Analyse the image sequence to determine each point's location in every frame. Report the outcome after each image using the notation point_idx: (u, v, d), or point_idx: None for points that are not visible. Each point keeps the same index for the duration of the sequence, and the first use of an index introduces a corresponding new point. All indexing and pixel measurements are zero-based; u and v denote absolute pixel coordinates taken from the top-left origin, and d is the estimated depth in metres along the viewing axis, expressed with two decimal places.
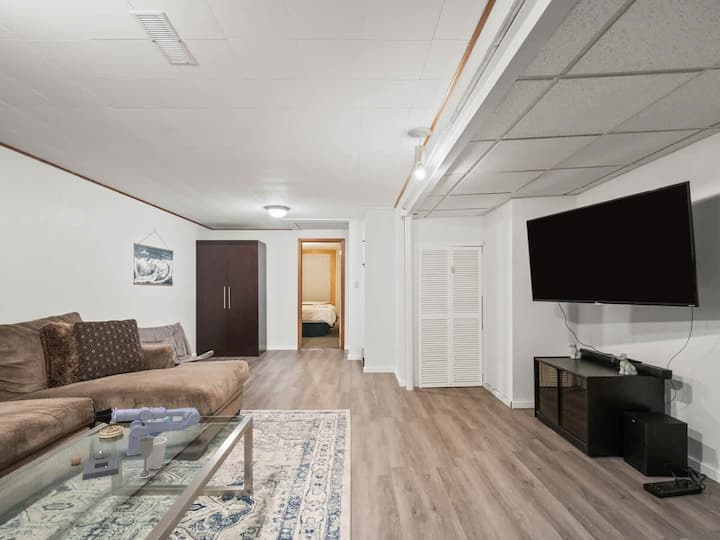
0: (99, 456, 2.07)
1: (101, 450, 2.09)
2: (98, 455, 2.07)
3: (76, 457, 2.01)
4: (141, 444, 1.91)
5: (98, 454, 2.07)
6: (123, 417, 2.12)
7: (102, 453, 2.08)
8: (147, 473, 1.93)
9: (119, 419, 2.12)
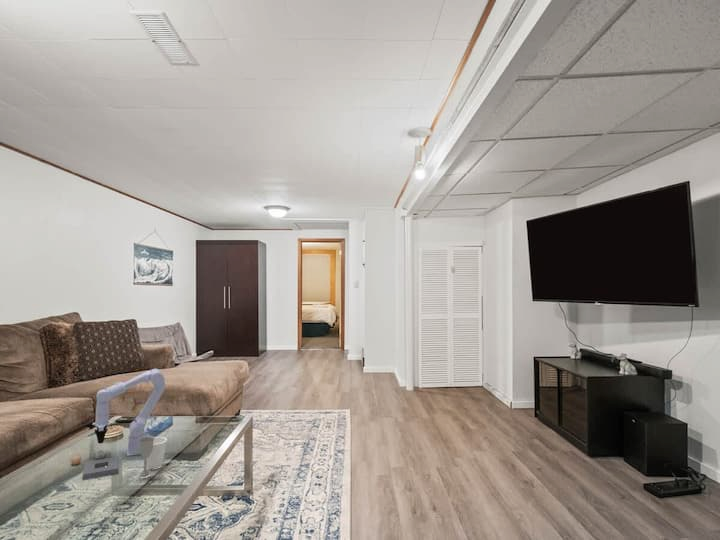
0: (99, 456, 2.07)
1: (101, 450, 2.09)
2: (98, 455, 2.07)
3: (76, 457, 2.01)
4: (141, 444, 1.91)
5: (98, 454, 2.07)
6: (102, 417, 2.07)
7: (102, 453, 2.08)
8: (147, 473, 1.93)
9: (105, 419, 2.08)
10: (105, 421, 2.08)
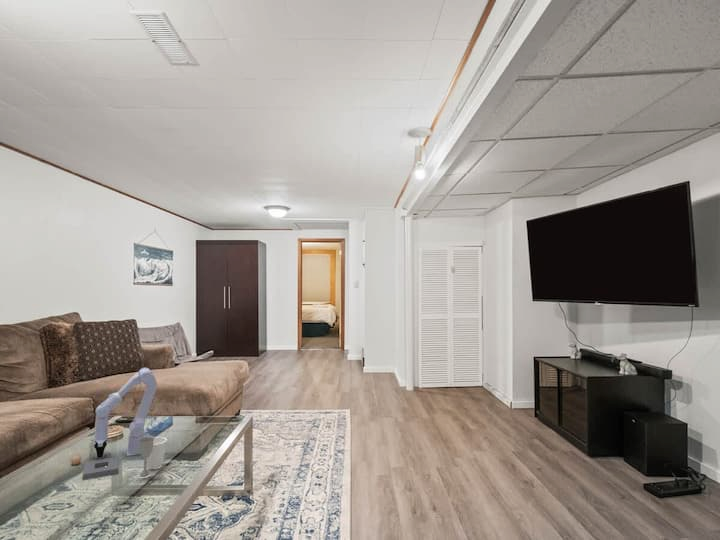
0: None
1: None
2: None
3: (76, 457, 2.01)
4: (141, 444, 1.91)
5: None
6: (102, 432, 2.07)
7: None
8: (147, 473, 1.93)
9: (104, 435, 2.08)
10: (104, 436, 2.08)
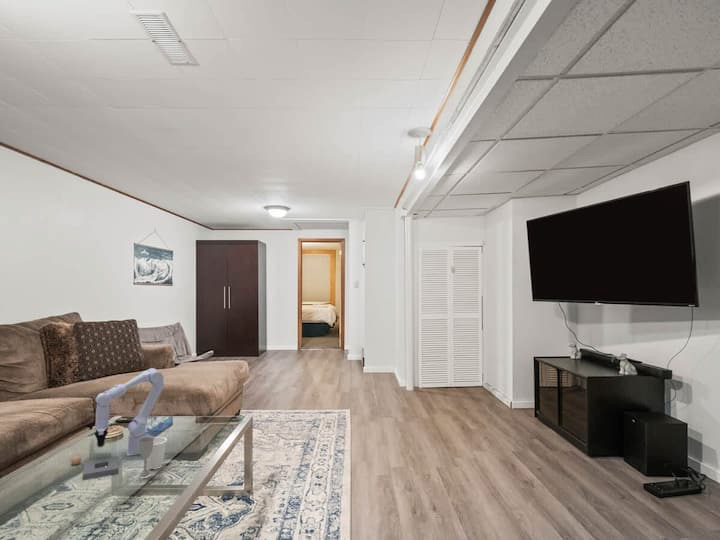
0: None
1: None
2: None
3: (76, 457, 2.01)
4: (141, 444, 1.91)
5: None
6: (102, 420, 2.04)
7: None
8: (147, 473, 1.93)
9: (105, 423, 2.05)
10: (105, 425, 2.06)
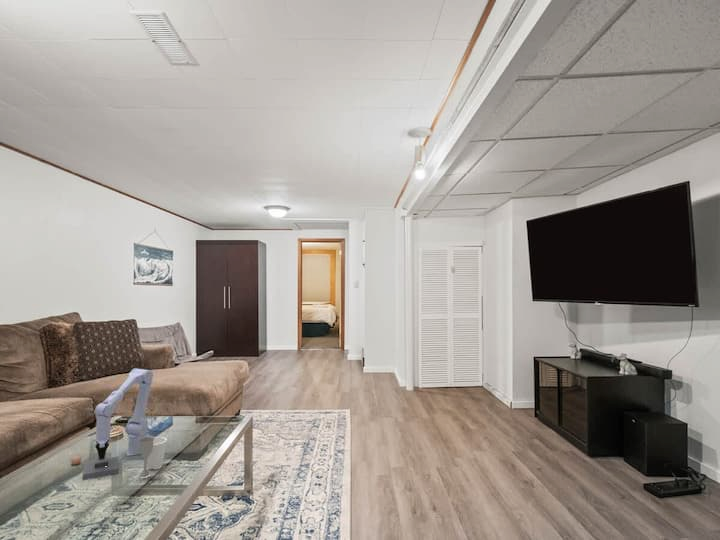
0: None
1: None
2: None
3: (76, 457, 2.01)
4: (141, 444, 1.91)
5: None
6: (103, 432, 1.95)
7: None
8: (147, 473, 1.93)
9: (106, 435, 1.96)
10: (106, 436, 1.96)
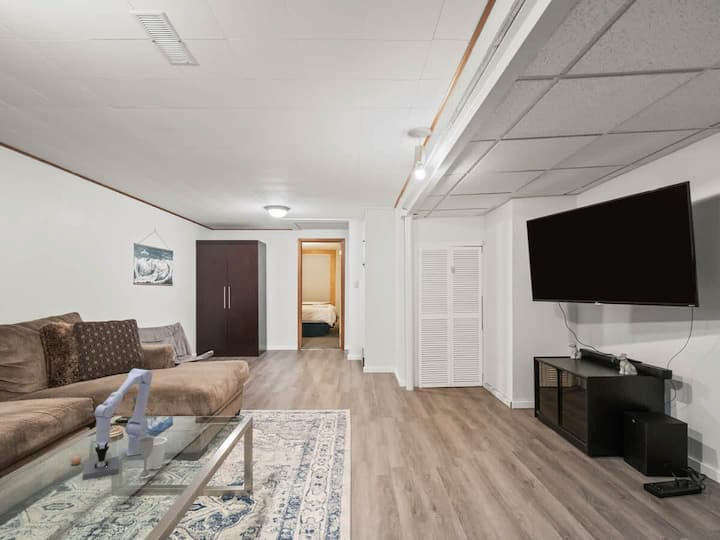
0: None
1: None
2: (99, 467, 1.95)
3: (76, 457, 2.01)
4: (141, 444, 1.91)
5: (99, 466, 1.95)
6: (103, 433, 1.95)
7: (103, 465, 1.96)
8: (147, 473, 1.93)
9: (106, 436, 1.96)
10: (106, 438, 1.96)
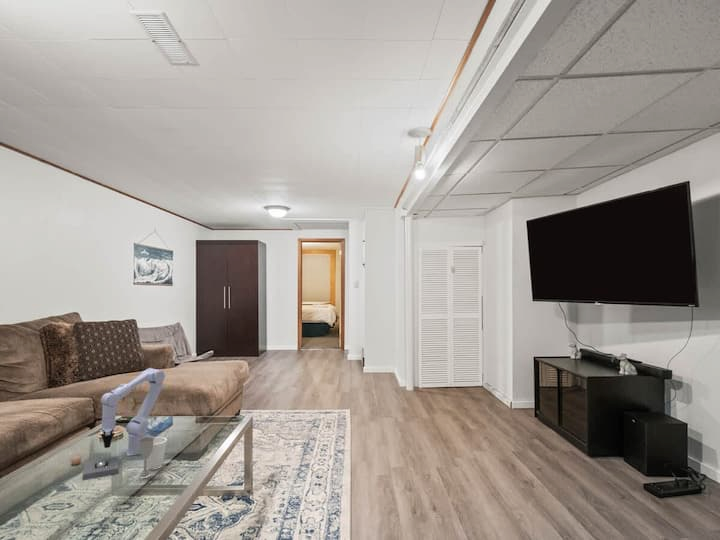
0: None
1: None
2: (99, 467, 1.95)
3: (76, 457, 2.01)
4: (141, 444, 1.91)
5: (99, 466, 1.95)
6: (109, 420, 2.02)
7: (103, 464, 1.96)
8: (147, 473, 1.93)
9: (111, 423, 2.03)
10: (112, 425, 2.03)
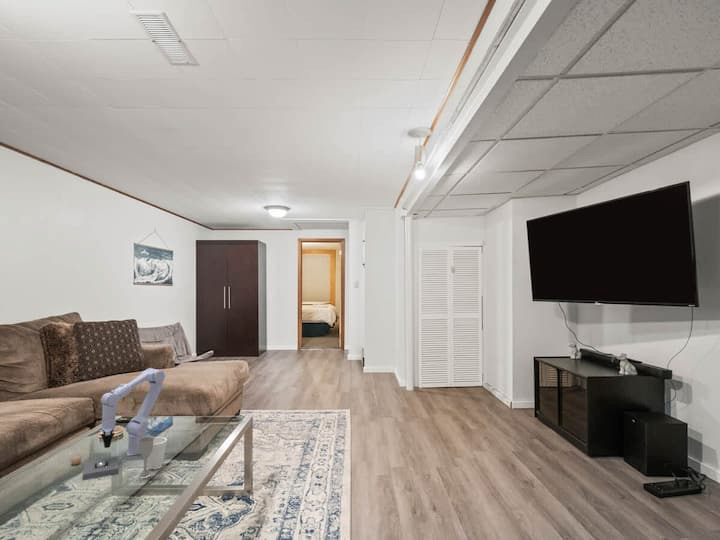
0: None
1: None
2: (99, 467, 1.95)
3: (76, 457, 2.01)
4: (141, 444, 1.91)
5: (98, 466, 1.95)
6: (109, 420, 2.02)
7: (103, 464, 1.96)
8: (147, 473, 1.93)
9: (111, 423, 2.03)
10: (112, 425, 2.03)
